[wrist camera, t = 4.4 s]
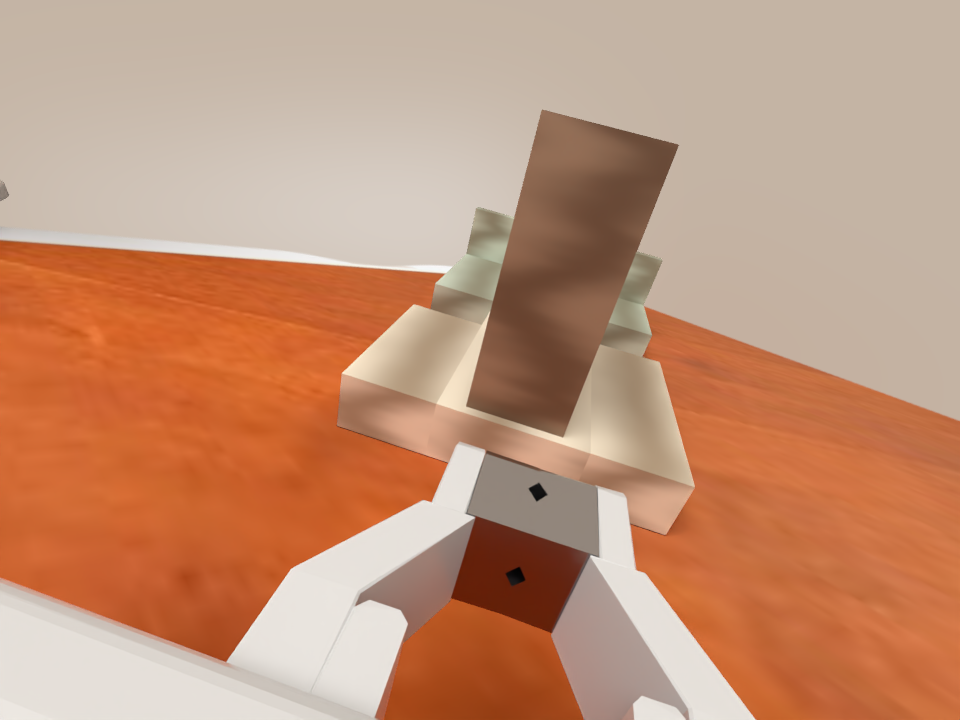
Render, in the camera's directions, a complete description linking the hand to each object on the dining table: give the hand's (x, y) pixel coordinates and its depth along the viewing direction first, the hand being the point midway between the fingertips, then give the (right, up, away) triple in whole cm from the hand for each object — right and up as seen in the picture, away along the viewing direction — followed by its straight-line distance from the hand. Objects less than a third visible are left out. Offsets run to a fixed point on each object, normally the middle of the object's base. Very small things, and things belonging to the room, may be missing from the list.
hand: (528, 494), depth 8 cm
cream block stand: (+2, +2, +24) cm, 24 cm away
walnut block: (+2, +2, +16) cm, 16 cm away
